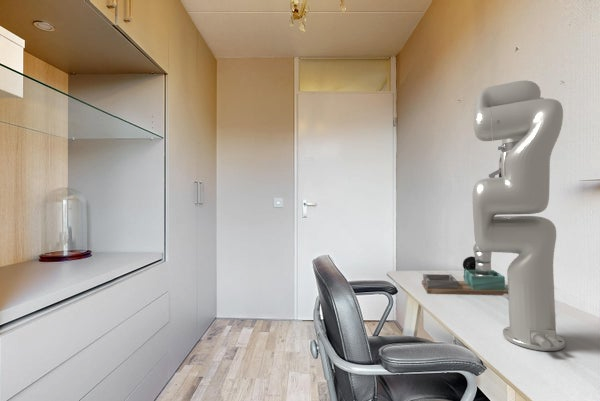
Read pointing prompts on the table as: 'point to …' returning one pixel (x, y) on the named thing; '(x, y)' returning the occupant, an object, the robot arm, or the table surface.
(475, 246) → the metal bottle
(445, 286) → the sorting tray
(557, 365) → the table surface
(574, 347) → the table surface
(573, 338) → the table surface
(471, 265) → the webcam
